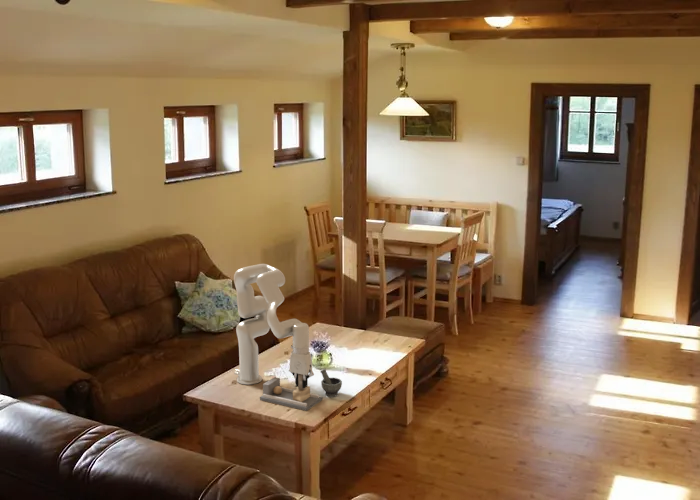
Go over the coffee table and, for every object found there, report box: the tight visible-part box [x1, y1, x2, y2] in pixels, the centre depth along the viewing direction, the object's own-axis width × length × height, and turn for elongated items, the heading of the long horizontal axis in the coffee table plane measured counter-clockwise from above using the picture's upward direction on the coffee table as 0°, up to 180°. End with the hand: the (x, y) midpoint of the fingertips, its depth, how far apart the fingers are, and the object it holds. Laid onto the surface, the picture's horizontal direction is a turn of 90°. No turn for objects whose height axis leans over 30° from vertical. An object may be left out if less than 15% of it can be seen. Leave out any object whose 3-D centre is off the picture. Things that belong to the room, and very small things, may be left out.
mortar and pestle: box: [320, 368, 343, 398], centre depth 380 cm, size 11×9×12 cm
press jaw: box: [293, 374, 311, 402], centre depth 370 cm, size 4×9×16 cm, turn 151°
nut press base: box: [259, 376, 323, 412], centre depth 374 cm, size 26×14×8 cm, turn 62°
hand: (301, 386), depth 370 cm, fingers closed on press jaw, 3 cm apart
